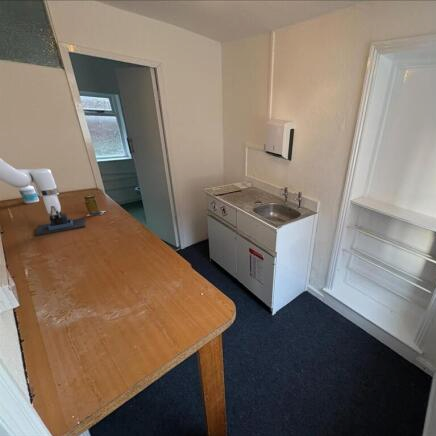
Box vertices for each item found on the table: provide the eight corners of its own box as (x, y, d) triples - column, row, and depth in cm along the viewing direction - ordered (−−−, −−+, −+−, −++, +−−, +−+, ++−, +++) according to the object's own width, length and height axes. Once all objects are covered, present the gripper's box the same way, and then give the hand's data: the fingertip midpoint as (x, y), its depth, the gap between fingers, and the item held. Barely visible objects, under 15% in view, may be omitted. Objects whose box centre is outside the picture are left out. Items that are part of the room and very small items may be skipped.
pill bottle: (25, 201, 165) (16, 183, 160) (39, 199, 170) (32, 181, 165) (24, 204, 160) (15, 185, 155) (39, 202, 165) (31, 184, 160)
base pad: (35, 236, 122) (33, 231, 120) (38, 227, 131) (36, 222, 130) (85, 227, 134) (83, 222, 132) (84, 219, 143) (83, 214, 142)
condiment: (90, 212, 154) (85, 194, 149) (106, 211, 156) (101, 194, 151) (86, 216, 147) (79, 198, 142) (102, 215, 150) (96, 197, 145)
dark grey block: (52, 226, 128) (49, 218, 126) (53, 223, 131) (50, 215, 129) (68, 223, 132) (65, 216, 130) (68, 220, 135) (65, 213, 133)
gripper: (40, 189, 128) (52, 219, 135) (36, 197, 116) (49, 229, 123) (58, 187, 132) (69, 216, 139) (57, 195, 120) (68, 226, 128)
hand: (60, 222), depth 131 cm, fingers closed on dark grey block, 5 cm apart
